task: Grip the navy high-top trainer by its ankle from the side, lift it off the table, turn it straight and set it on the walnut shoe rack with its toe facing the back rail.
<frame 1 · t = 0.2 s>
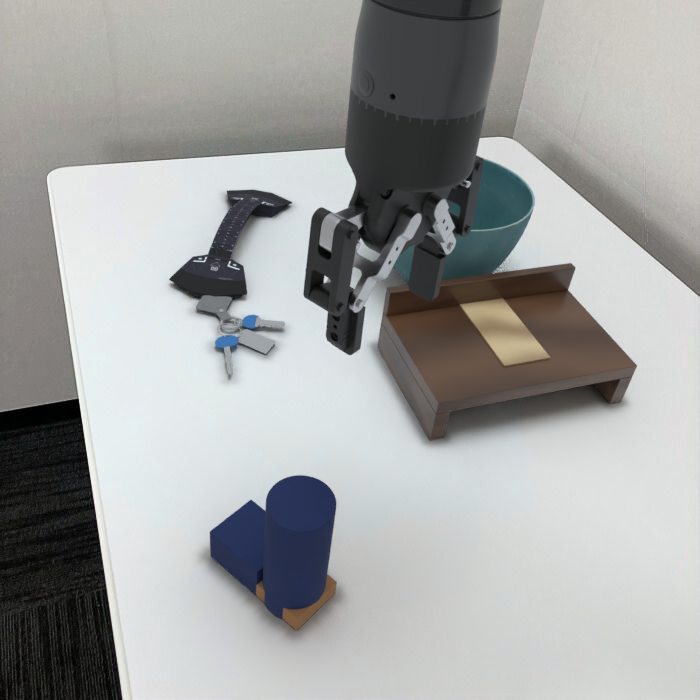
hand: (385, 319, 52), 21 cm above the table, tool pointing down, fingers open, 8 cm apart
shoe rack: (497, 374, 82), on the table
teal bowl: (435, 277, 95), on the table
dark piece: (235, 242, 96), on the table, touching key chain
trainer: (293, 592, 60), on the table
key chain: (245, 330, 83), on the table, touching dark piece
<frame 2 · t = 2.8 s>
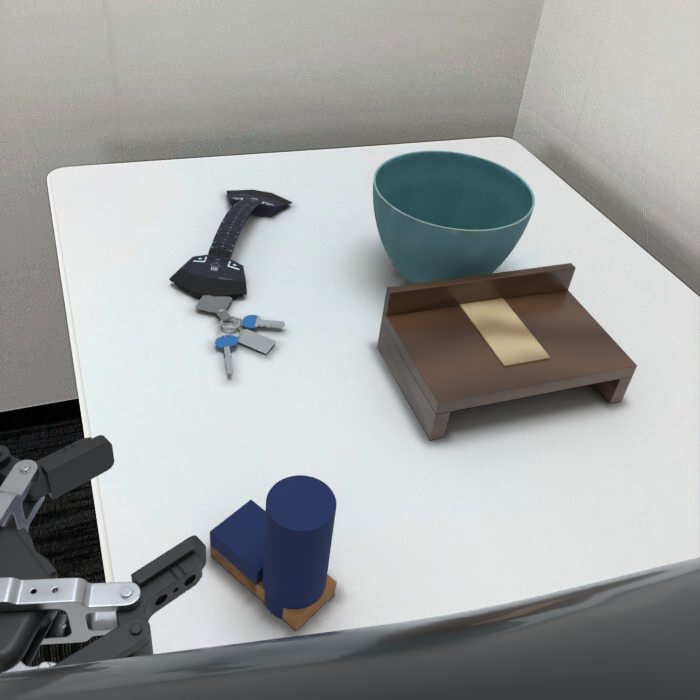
hand: (153, 496, 40), 20 cm above the table, tool horizontal, fingers open, 8 cm apart
nothing on the table moved.
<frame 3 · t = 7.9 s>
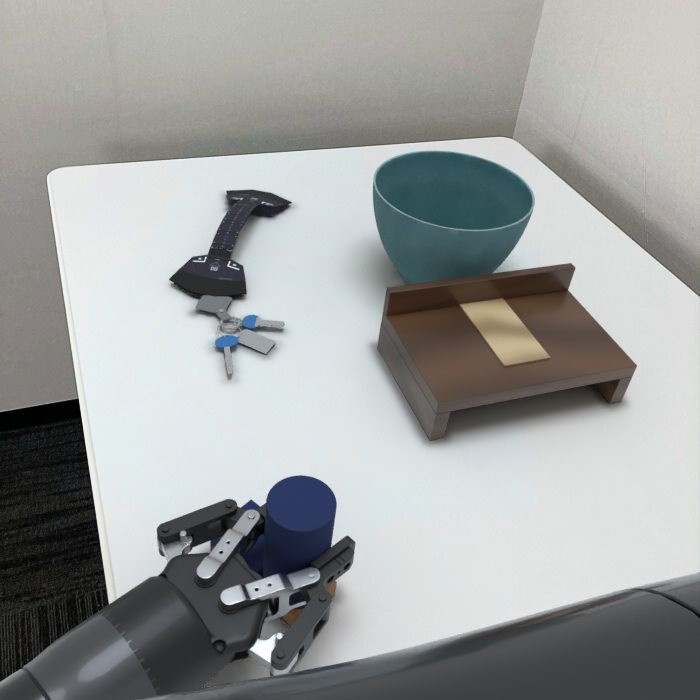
hand: (324, 522, 57), 7 cm above the table, tool horizontal, fingers closed on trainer, 5 cm apart
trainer: (293, 592, 60), on the table, touching gripper
everything else where it was.
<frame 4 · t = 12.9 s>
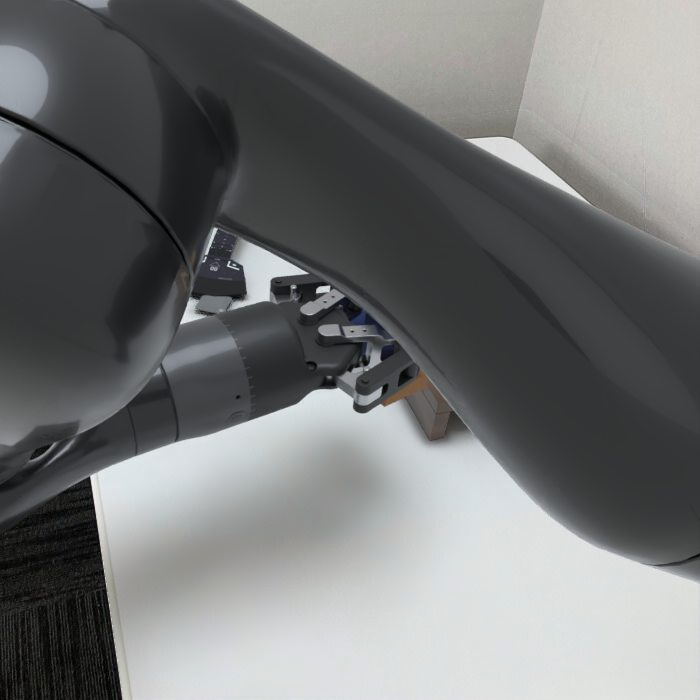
hand: (425, 306, 59), 18 cm above the table, tool horizontal, fingers closed on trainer, 5 cm apart
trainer: (387, 379, 62), point 11 cm above the table, touching gripper
everything else where it was.
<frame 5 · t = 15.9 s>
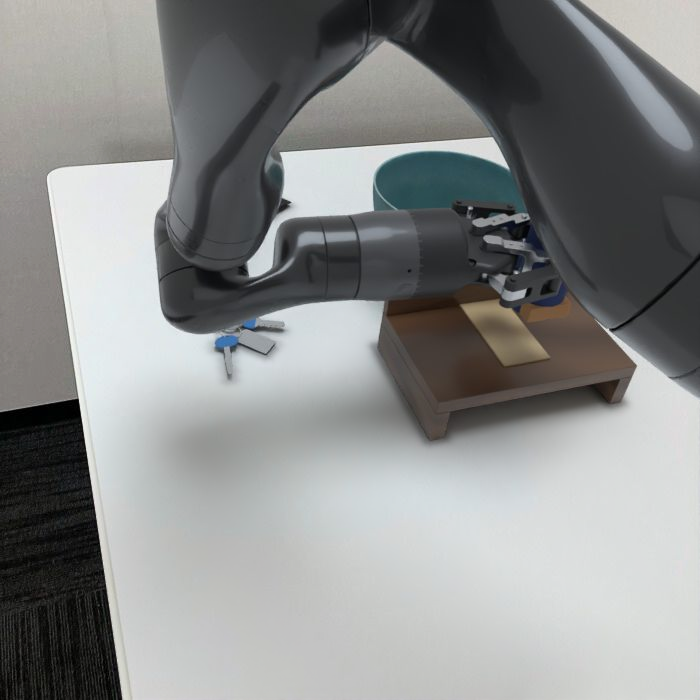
hand: (579, 244, 69), 18 cm above the table, tool horizontal, fingers closed on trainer, 5 cm apart
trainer: (534, 304, 73), point 11 cm above the table, touching gripper
everything else where it was.
when the fingers open (12 cm above the table, at t = 18.0 s): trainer stays where it is, resting on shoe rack.
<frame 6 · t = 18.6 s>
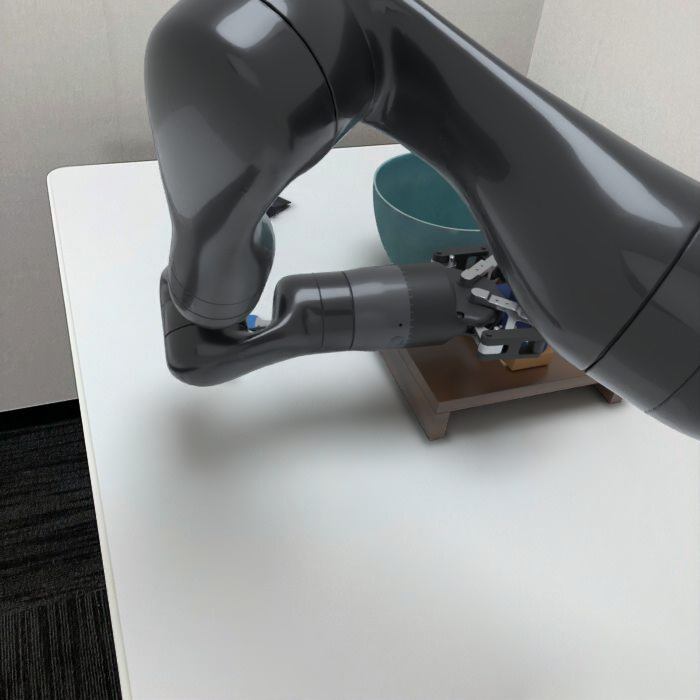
hand: (556, 293, 73), 12 cm above the table, tool horizontal, fingers open, 8 cm apart
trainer: (519, 351, 77), point 5 cm above the table, touching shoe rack
everything else where it was.
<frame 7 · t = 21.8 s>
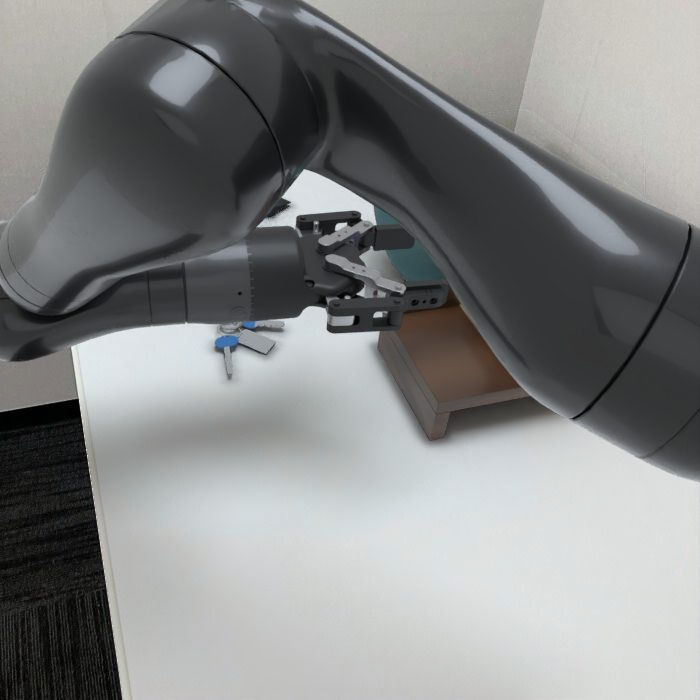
hand: (429, 262, 66), 17 cm above the table, tool horizontal, fingers open, 8 cm apart
nothing on the table moved.
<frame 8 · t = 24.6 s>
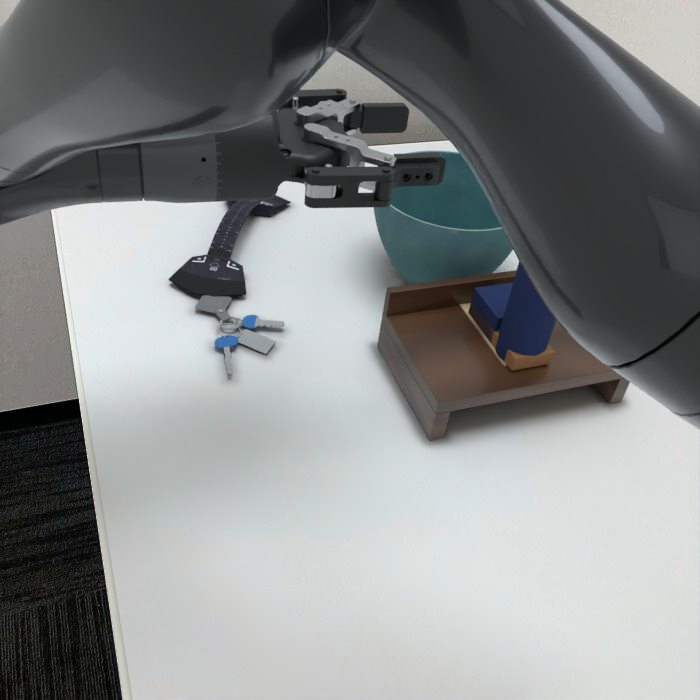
hand: (423, 141, 58), 28 cm above the table, tool horizontal, fingers open, 8 cm apart
nothing on the table moved.
at the end: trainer 0.3 cm from the target spot on the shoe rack, point 5.2 cm above the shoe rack's base; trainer tilted 0°; the gripper is holding nothing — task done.
